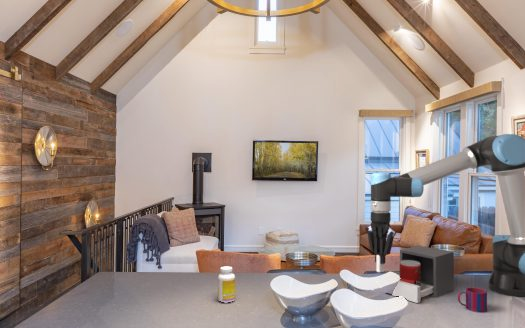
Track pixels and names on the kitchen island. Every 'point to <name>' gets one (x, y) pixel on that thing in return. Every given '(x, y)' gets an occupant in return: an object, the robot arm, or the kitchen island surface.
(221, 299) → the supplement bottle
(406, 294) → the tray
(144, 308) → the kitchen island surface
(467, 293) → the mug
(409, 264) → the canned food
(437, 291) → the housing
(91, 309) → the kitchen island surface
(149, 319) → the kitchen island surface
